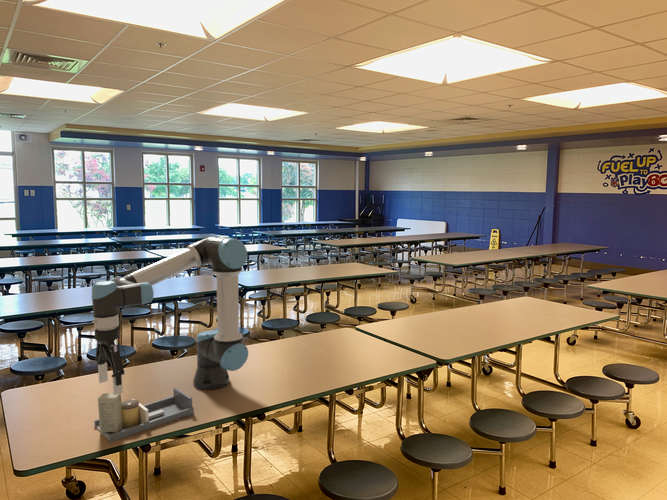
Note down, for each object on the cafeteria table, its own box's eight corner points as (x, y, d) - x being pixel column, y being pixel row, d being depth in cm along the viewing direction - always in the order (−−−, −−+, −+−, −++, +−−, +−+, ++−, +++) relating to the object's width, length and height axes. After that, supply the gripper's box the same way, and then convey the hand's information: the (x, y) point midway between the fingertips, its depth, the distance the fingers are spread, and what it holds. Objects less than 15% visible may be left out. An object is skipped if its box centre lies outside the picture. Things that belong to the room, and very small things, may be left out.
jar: (117, 424, 167) (117, 403, 166) (135, 418, 172) (134, 398, 171) (124, 430, 163) (124, 408, 162) (142, 424, 167) (141, 403, 166)
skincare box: (123, 426, 165) (122, 392, 163) (117, 432, 160) (116, 398, 159) (104, 426, 165) (103, 392, 163) (98, 432, 160) (97, 398, 159)
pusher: (131, 415, 174) (131, 399, 173) (155, 407, 180) (155, 392, 179) (146, 427, 165) (145, 410, 164) (170, 418, 171) (170, 402, 170)
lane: (94, 426, 166) (93, 410, 165) (175, 401, 187) (174, 386, 186) (110, 442, 155) (109, 425, 155) (193, 414, 176) (193, 398, 176)
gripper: (82, 322, 164) (86, 380, 167) (108, 338, 147) (112, 402, 150) (105, 318, 170) (108, 374, 172) (132, 333, 152) (136, 395, 155)
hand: (110, 387), depth 161 cm, fingers open, 13 cm apart
